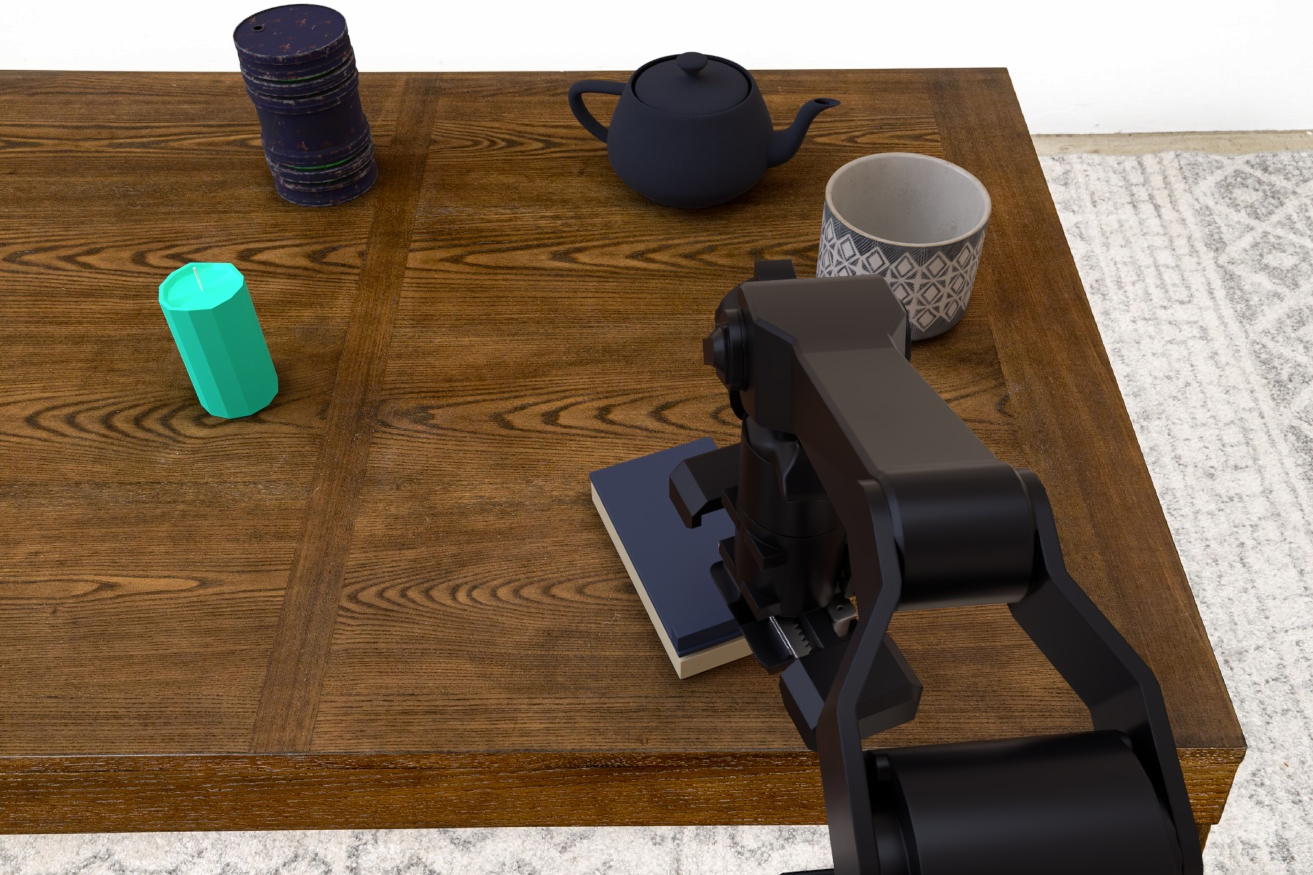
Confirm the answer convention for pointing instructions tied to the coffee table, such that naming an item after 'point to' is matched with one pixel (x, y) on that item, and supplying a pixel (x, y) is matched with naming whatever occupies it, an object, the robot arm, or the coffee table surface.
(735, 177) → the teapot
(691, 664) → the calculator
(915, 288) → the planter
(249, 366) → the candle
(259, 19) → the dark blue barrel
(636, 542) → the cover
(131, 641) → the coffee table surface
